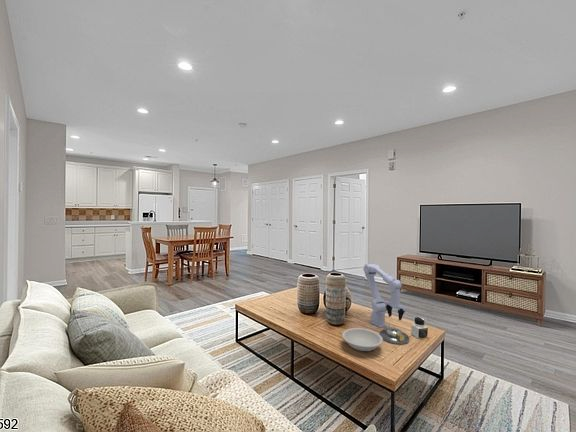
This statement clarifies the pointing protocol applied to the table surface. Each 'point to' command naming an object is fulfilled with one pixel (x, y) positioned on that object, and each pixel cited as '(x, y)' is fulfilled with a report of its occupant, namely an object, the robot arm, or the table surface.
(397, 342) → the flange plate
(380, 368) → the table surface
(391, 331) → the ring nut
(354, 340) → the soup bowl
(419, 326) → the medicine bottle
